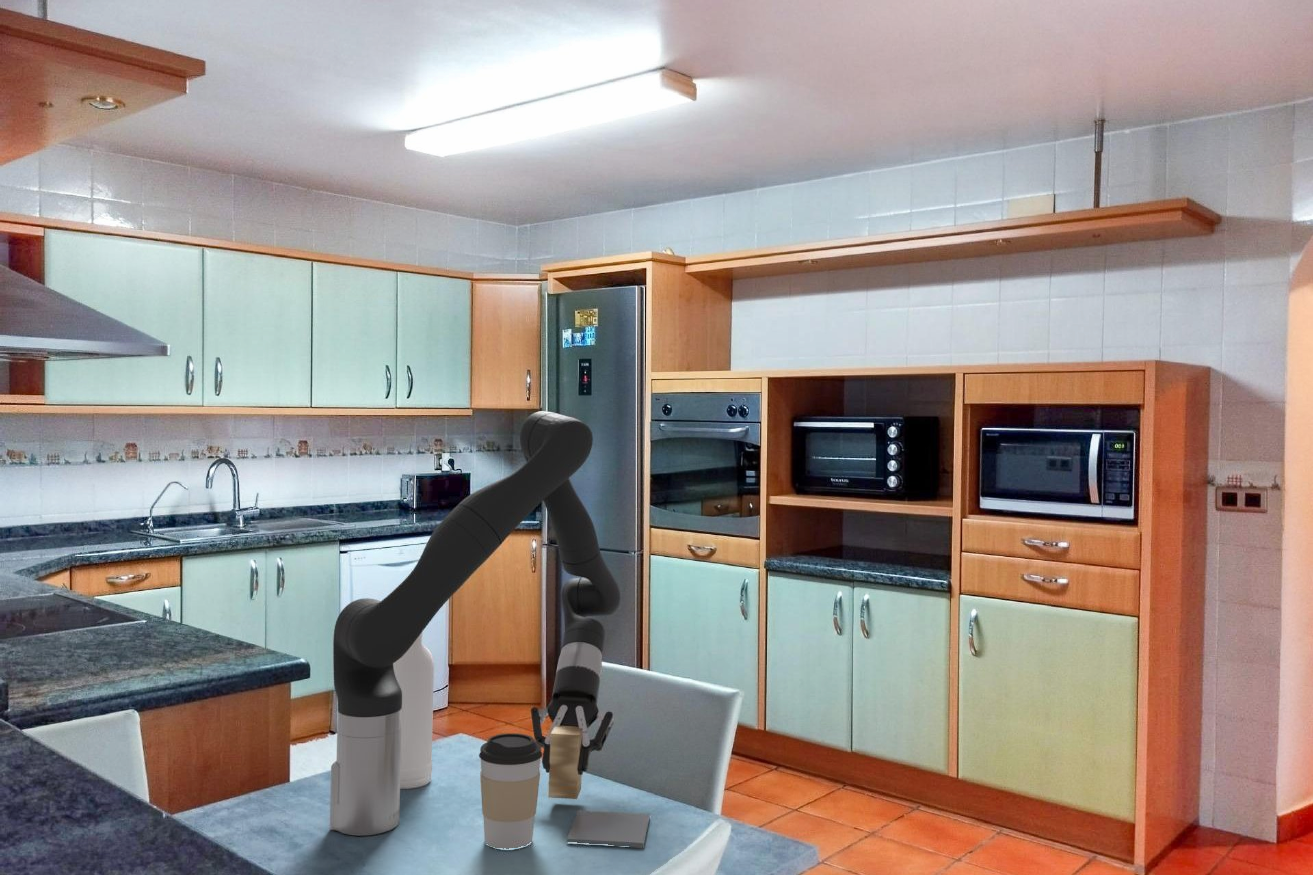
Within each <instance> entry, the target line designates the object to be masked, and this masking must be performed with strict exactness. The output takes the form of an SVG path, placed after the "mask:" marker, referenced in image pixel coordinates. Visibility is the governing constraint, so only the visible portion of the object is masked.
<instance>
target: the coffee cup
mask: <svg viewBox="0 0 1313 875" xmlns="http://www.w3.org/2000/svg"><path fill="white" fill-rule="evenodd" d="M478 756H479V758H480V771H479V772H480V773H479V775H480V777H479V779H480V792H481V795H480V796H481V811H482V816H483V834H484V844H485V843H486V844H488V845H489V846H492V847H495V848H503V849H504V848H506V849H509V848H518V847H521V846H526V845H527V844H529V843H530V842H532V843H533V840H534V839H533V836H534V827H535V826H534V825H535V817H536V814H537V807H538V799H539V798H538V797H539V789H540V788H539V787H540V779H541V770H540V767H541V758H543V751H542V747H540V746H539V745H538V744H537V743H536V742H535V738H533V736H530V735H527V734H524V733H514V732H513V733H499V734H495V735H492V736H490V737H489V738H488V739H487V741H486V742H485V743H483V744H482V745H481V746H480V752H479V754H478ZM486 844H485V845H486Z"/></svg>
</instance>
